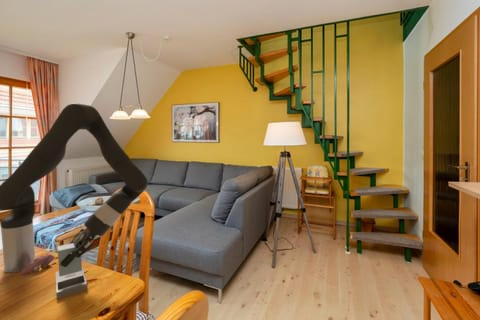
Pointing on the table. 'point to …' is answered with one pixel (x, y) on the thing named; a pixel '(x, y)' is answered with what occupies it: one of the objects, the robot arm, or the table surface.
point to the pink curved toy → (37, 264)
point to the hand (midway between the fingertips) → (62, 262)
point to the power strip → (70, 283)
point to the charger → (73, 266)
